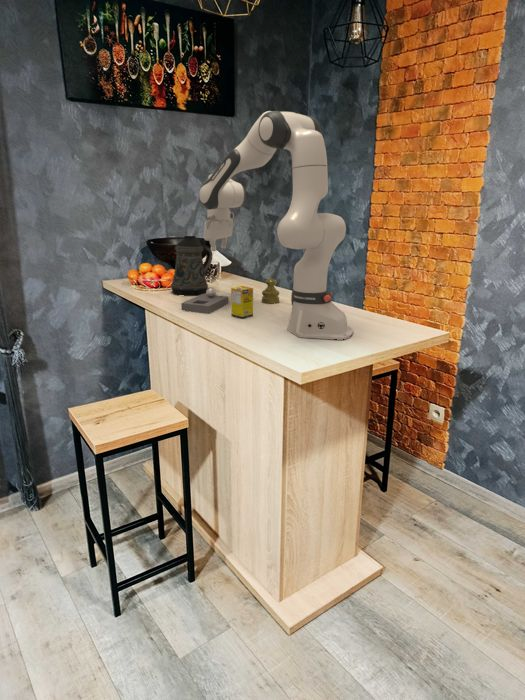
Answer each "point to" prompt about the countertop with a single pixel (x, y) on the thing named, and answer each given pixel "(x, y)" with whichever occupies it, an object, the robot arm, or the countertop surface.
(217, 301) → the hole board
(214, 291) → the steel ball
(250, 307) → the supplement box
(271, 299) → the olive tiered figure
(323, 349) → the countertop surface
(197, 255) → the beer stein
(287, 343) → the countertop surface
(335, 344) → the countertop surface
